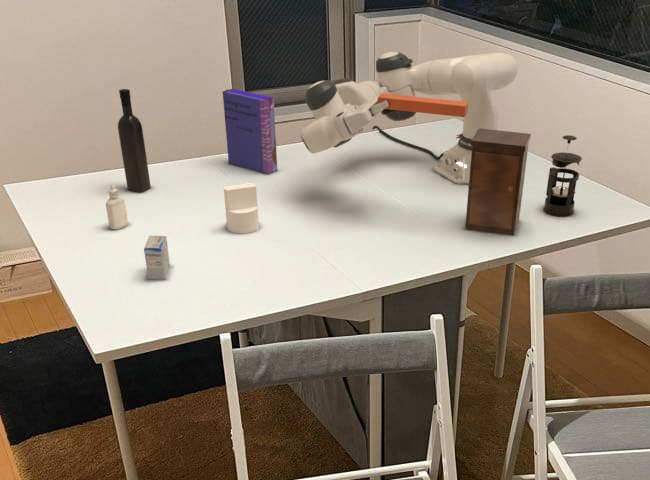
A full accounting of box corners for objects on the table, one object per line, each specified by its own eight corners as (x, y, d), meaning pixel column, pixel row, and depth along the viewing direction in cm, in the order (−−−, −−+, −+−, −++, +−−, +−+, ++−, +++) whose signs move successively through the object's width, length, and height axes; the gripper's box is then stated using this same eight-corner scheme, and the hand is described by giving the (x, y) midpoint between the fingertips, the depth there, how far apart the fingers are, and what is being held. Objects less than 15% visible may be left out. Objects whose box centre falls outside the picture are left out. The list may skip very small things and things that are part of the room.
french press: (581, 215, 252) (593, 140, 239) (555, 219, 249) (567, 143, 236) (559, 202, 261) (570, 128, 248) (534, 205, 258) (544, 131, 245)
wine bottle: (126, 190, 257) (110, 91, 240) (137, 184, 262) (122, 86, 245) (141, 193, 256) (126, 93, 239) (152, 187, 260) (138, 89, 243)
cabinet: (463, 230, 240) (470, 141, 225) (471, 214, 250) (478, 128, 235) (514, 237, 237) (525, 147, 222) (520, 220, 247) (530, 133, 232)
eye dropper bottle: (131, 227, 234) (124, 186, 227) (111, 230, 231) (104, 189, 225) (126, 221, 237) (119, 181, 230) (107, 225, 234) (99, 184, 228)
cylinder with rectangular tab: (232, 235, 232) (229, 194, 225) (223, 223, 238) (219, 183, 231) (263, 230, 235) (260, 189, 228) (252, 219, 242) (249, 179, 235)
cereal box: (277, 170, 277) (273, 97, 263) (268, 174, 273) (263, 100, 260) (238, 160, 284) (232, 88, 270) (228, 163, 281) (222, 90, 267)
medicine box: (153, 266, 214) (148, 235, 209) (170, 266, 214) (166, 235, 209) (148, 280, 207) (143, 248, 202) (166, 279, 208) (161, 248, 203)
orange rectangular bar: (377, 108, 231) (377, 97, 229) (381, 104, 235) (381, 93, 233) (464, 117, 226) (465, 106, 225) (467, 113, 230) (468, 102, 228)
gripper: (365, 121, 247) (404, 101, 241) (344, 140, 230) (386, 120, 224) (355, 101, 244) (395, 81, 238) (334, 119, 228) (375, 98, 222)
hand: (390, 100), depth 231 cm, fingers closed on orange rectangular bar, 4 cm apart
